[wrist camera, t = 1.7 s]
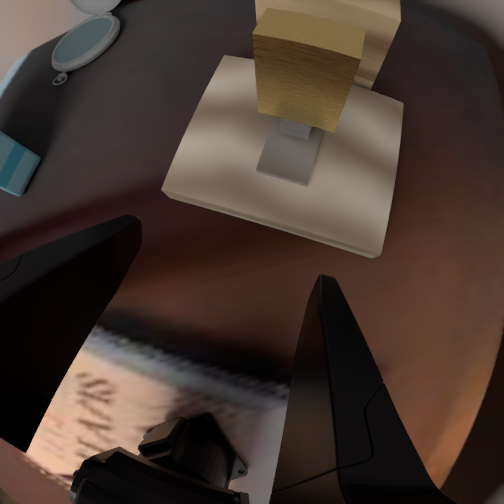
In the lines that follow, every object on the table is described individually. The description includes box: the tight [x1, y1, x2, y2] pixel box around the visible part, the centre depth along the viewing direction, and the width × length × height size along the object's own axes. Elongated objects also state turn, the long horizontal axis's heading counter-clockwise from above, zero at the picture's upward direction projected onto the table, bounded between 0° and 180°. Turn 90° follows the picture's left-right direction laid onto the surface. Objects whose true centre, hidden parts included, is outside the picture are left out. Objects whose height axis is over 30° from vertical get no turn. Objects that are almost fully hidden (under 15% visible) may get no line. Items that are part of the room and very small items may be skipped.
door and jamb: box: [161, 0, 404, 258], centre depth 18 cm, size 19×16×10 cm
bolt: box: [252, 7, 365, 141], centre depth 16 cm, size 7×5×9 cm
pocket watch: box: [52, 0, 121, 85], centre depth 21 cm, size 10×11×15 cm
